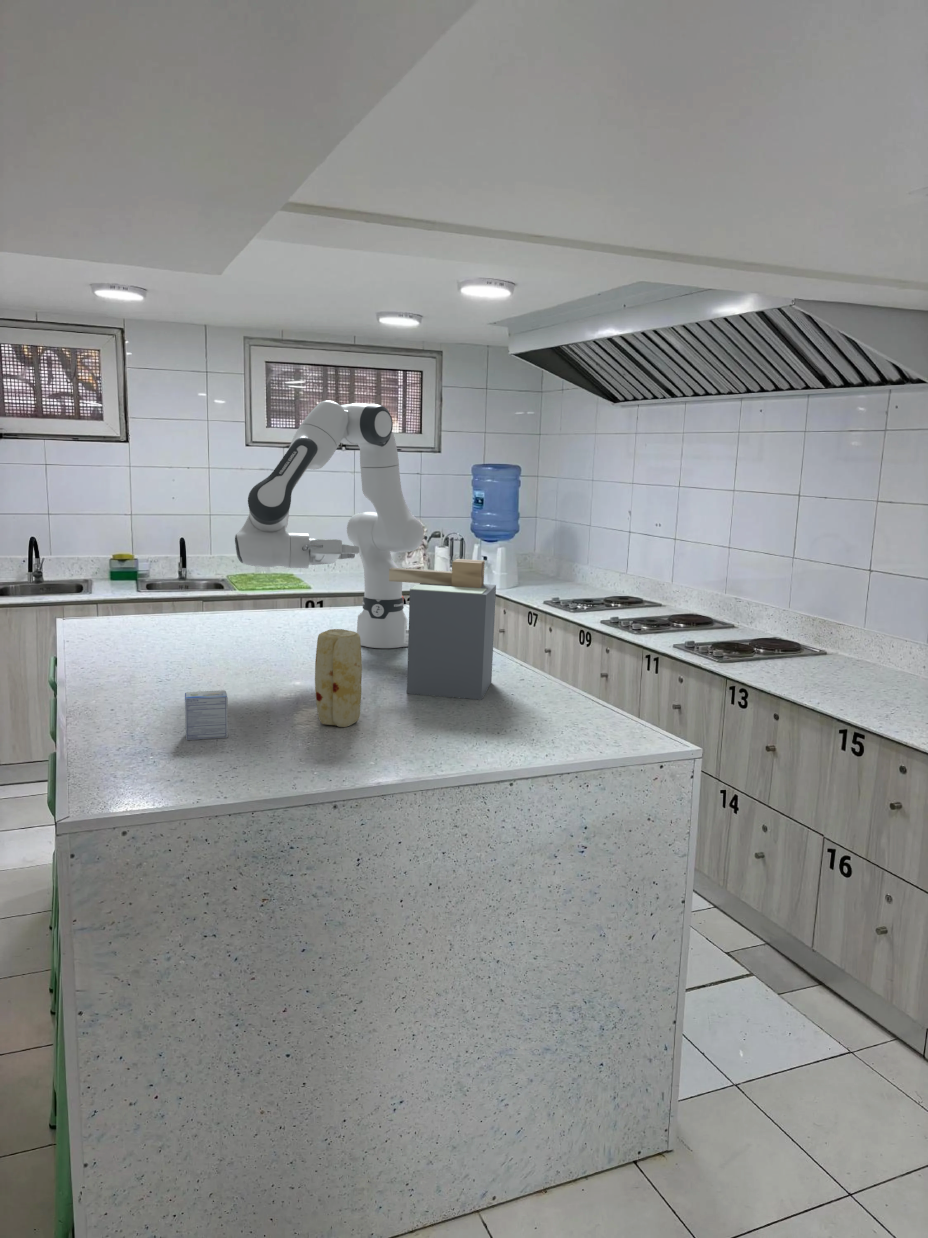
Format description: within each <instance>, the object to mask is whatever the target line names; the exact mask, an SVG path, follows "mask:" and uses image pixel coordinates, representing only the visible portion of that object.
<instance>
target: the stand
mask: <svg viewBox="0 0 928 1238" xmlns="http://www.w3.org/2000/svg"><path fill="white" fill-rule="evenodd" d="M496 592H497V584H491V583H490V584H487V583H484V585H483V586H482V587H480V588H473V587H458V586H451V585H441V584H425V583H416V584H415V585H413V586H412V587H410V588H409V602H408V604H409V608H408V610H409V611H408V629H409V634H408V646H407V667H406V668H407V671H406V673H407V674H406V675H407V676H406V694H407V693H410V694H409V695H419V694H420V695H421V696H430V695H435V696H434V697H442V696H444V697H443V698H454V697H460V698H459V699H465V698H470V699H469V700H477V699H478V700H479V701H481V700H483V698H484V696H485V695H486V693H487V691H488V689H489V688H488V687H490V686H491V685H492V677H493V659H494V657H493V656H494V639H495V638H494V637H495V636H494V635H495V620H496V619H495V615H496ZM484 694H485V695H484ZM420 695H419V696H420Z"/></svg>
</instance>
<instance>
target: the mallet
mask: <svg viewBox="0 0 928 1238" xmlns="http://www.w3.org/2000/svg"><path fill="white" fill-rule="evenodd" d="M485 561H486V560H483V559H481V560H480V559H468V558H467V559H462V558H456V559H454V560H453V561H452V562H451V570H450V571H449V570H437V569H436V570H435V569H417V568H405V567H404V568H403V567H399V568H391V569H389V581H394V582H402V583H412V584H420V583H425V584H441V585H451V586H458V587H473V588H480V587H482V586H483V585H484V584H485V581H484V580H485Z"/></svg>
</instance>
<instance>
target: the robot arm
mask: <svg viewBox="0 0 928 1238" xmlns="http://www.w3.org/2000/svg"><path fill="white" fill-rule="evenodd" d="M393 426H394V424H393V418H392V416H391V413H390V412H389V410H388V409H387V407H385V406H383V405H380V404H377V403H362V402H361V403H360V402H355V403H354V402H353V403H346V404H345V403H344V404H339V403H338V402H336V401H333V400H322V401H320V402H319V403H318V404H316V405H315V407H314V408H313V409H312V410H311V411H310V412H309V413H308V414H307V416H306V417H305V418H304V419H303V421H302V423H301V424H300V425H299V427H298V429H297V431H295V434H294V436H293V438H292V440H291V442H290V444H289V447H288V450H287V451H286V452H285V454H284V455H283V456H282V458H281V459H280V461H279V462H278V464H277V465H276V466H275V468H274V469H273V471H272V472H271V474H270V475H268V476H267V477H266V478H265V479H263V480H261V481H260V482H258V483H256V484H255V485H254V486H253V487H252V488H251V489H250V491H249V493H248V497H247V505H248V511H249V514H248V515H247V518H246V520H245V522H244V524H243V526H242V527H241V529H240V530H239V531H238V532H237V533H235V535H234V544H235V551H236V556H237V559H238V561H239V562H240V563H241V564H243V565H246V566H250V567H261V568H274V567H284V568H286V569H309V566H313V565H314V566H316V565H317V566H318V565H330V564H335V563H336V562H337V561H338V560H346V559H347V560H348V559H349V560H350V559H351V560H353V559H355V557H356V555H358V554H359V557H360V559H361V563H362V566H363V567H362V568H363V573H364V577H363V578H364V595H363V597H362V609H363V610H362V611H361V612H359V614H358V615H357V622H356V633H358V634H359V636H360V641H361V647H367V648H375V649H396V648H402V647H403V648H405V647H406V648H408V634H409V628H408V625H409V619H408V618H407V615H406V613H405V611H404V607H405V606H404V605H405V603H404V600H405V599H404V596H403V582H394V581H389V569H391V568H400V567H399V566H398V564H396V563H395V561H394V560H393V557H392V555H391V552H392V553H393V552H394V553H408V552H413V551H416V550H417V549H419V547H420V546H421V545H422V543H423V540H424V537H425V535H424V534H425V533H424V527H423V525H422V523H421V521H420V520H419V519H418V518H416V516H415V515H413V512H411V510H410V507H409V506H408V504H407V502H406V499H405V497H404V495H403V490H402V484H401V483H402V481H401V475H400V474H401V472H400V460H399V453H398V448H397V442H396V438H395V436H394V435H395V434H394V432H393V428H394V427H393ZM340 444H345V445H350V446H351V445H355V446H357V445H358V448H359V465H360V466H359V467H360V479H361V490H362V494H363V495H364V498H366V499H367V500H368V501H370V503H371V504H372V506H373V507H374V509H375V511H364V512H358V513H355V514H353V515H352V516H351V517H350V519H349V520H348V522H347V526H346V534H347V537H348V540H349V541H350V542H351V544H352V545H349V544H343V541H342V540H341V539H331V538H321V539H320V538H317V539H316V538H310V534H309V533H307V532H287V531H286V530H287V528H288V524H289V517H290V508H291V503H292V492H293V491H294V489H295V488H296V487H297V484H298V483H299V481H300V480H301V478H302V477H303V476H304V474H305V472H306V470H319V469H323V467H324V466H325V465H326V464H327V463H328V462H329V460H330V459H331V458H332V457H333V455H334V454H335V452H336V451H337V449H338V447H339V446H340Z"/></svg>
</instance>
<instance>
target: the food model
mask: <svg viewBox="0 0 928 1238" xmlns="http://www.w3.org/2000/svg"><path fill="white" fill-rule="evenodd" d="M316 642H317V643H316V650H315V652H316V653H315V666H314V668H315V669H314V687H315V690H314V691H315V692H314V693H315V702H316V712H317V715H318V720H319V722H320V723H321V724H322V725H328V726H337V727H339V728H346V727H349V726H352V725H353V724H355V723H357V722H358V721H359V720H360V718H361V701H362V679H363V678H362V675H363V674H362V673H363V667H362V666H363V661H362V659H363V657H362V656H363V655H362V645H361V641H360V636H359V634H358V633H357V631H354V630H349V629H348V630H347V629H341V628H334V629H332V628H331V629H328V630H325V631H323V632H320V633H319V634H318V635H317V640H316Z"/></svg>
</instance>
